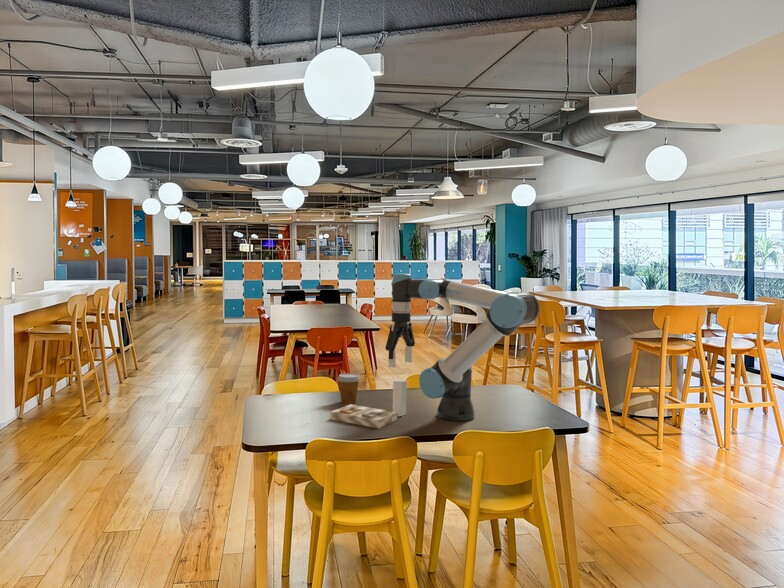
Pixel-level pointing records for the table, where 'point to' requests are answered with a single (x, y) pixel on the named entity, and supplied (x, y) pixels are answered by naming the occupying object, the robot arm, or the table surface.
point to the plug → (399, 397)
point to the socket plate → (364, 416)
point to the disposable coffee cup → (348, 387)
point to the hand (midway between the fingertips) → (400, 364)
